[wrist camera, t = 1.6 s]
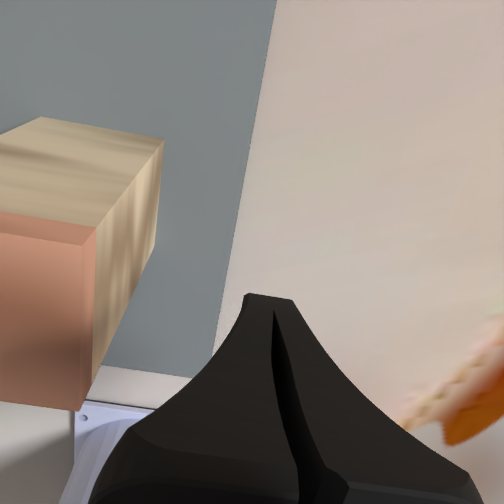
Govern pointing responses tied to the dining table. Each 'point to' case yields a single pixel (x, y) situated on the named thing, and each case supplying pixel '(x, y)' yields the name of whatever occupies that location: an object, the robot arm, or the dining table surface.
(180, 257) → the slate mat
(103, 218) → the beech block
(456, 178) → the dining table surface
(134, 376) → the dining table surface
